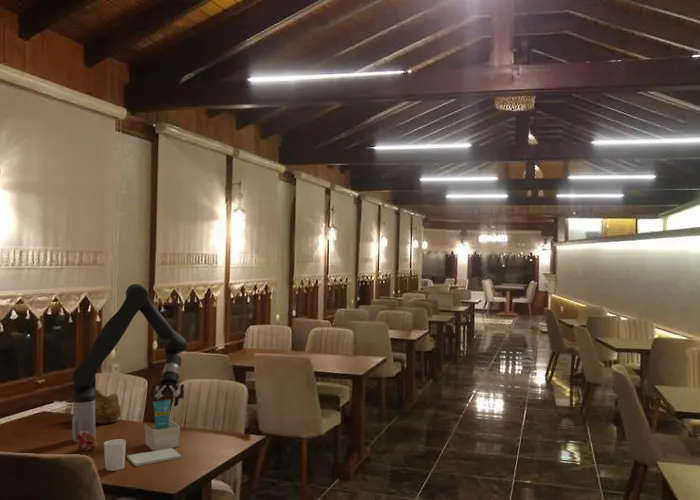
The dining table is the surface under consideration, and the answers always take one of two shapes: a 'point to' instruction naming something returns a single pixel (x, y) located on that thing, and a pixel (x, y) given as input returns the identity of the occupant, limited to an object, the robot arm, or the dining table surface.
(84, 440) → the flower
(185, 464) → the dining table surface
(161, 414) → the tube
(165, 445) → the carton
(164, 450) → the tile
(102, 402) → the rough brown rock
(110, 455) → the white cup
